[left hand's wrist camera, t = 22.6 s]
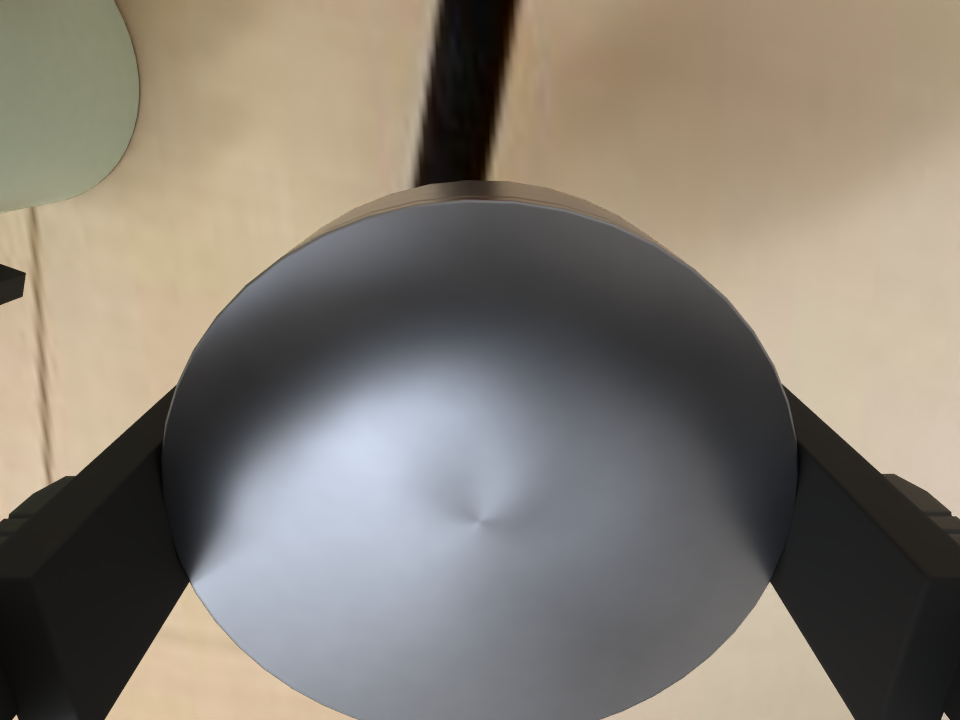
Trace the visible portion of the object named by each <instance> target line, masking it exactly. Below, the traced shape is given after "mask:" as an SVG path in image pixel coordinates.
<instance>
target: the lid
mask: <svg viewBox="0 0 960 720" xmlns="http://www.w3.org/2000/svg"><path fill="white" fill-rule="evenodd" d="M161 479H162V497H163V501H164V506H165V510H166V515H167V520H168V524H169V529H170V533H171V537H172V541H173V544H174V547H175V550H176V553H177V556H178V558H179V561H180V564H181V566H182V568H183V570H184V572H185V573H186V575H187V577H188V579H189V581H190V583H191V585H192V587H193V589H194V591H195V593H196V594H197V596H198V597H199V599H200V600H201V602H202V603H203V604H204V606H205V607H206V609H207V610H208V612H209V613H210V614H211V616H212V617H213V619H214V620H215V621H216V623H217V624H218V625H219V626H220V627H221V628H222V629H223V630H224V631H225V633H226V634H227V635H228V636H229V637H230V638H231V639H232V640H233V641H234V642H235V644H236V645H237V646H238V647H239V648H240V649H242V650H243V651H244V652H245V653H246V654H247V655H248V656H250V657H251V658H252V659H253V660H254V661H255V662H257V663H258V664H259V665H260V666H261V667H262V668H263V669H265V670H266V671H268V672H269V673H270V674H272V675H273V676H275V677H276V678H278V679H279V680H281V681H282V682H283V683H285V684H286V685H288V686H289V687H291V688H292V689H294V690H296V691H298V692H299V693H301V694H303V695H305V696H307V697H309V698H311V699H312V700H314V701H316V702H318V703H320V704H322V705H324V706H326V707H328V708H331V709H333V710H336V711H338V712H340V713H343V714H345V715H348V716H350V717H352V718H355V719H358V720H600V719H603V718H606V717H608V716H611V715H614V714H616V713H619V712H622V711H624V710H626V709H628V708H630V707H632V706H634V705H636V704H639V703H641V702H643V701H645V700H647V699H649V698H651V697H653V696H655V695H656V694H658V693H660V692H661V691H663V690H664V689H666V688H668V687H669V686H671V685H672V684H674V683H676V682H677V681H679V680H680V679H682V678H683V677H685V676H686V675H687V674H689V673H690V672H691V671H692V670H694V669H695V668H696V667H697V666H699V665H700V664H701V663H703V662H704V661H705V660H706V659H708V658H709V657H710V656H711V655H712V654H713V653H714V652H715V651H716V650H717V649H718V648H719V647H720V646H721V645H722V644H723V643H724V642H725V641H726V640H727V639H728V638H729V637H730V636H731V635H732V634H733V633H734V632H735V631H736V630H737V628H738V627H739V626H740V625H741V623H742V622H743V621H744V619H745V618H746V617H747V616H748V614H749V613H750V612H751V611H752V609H753V608H754V607H755V605H756V604H757V602H758V600H759V599H760V597H761V595H762V594H763V592H764V590H765V589H766V587H767V585H768V583H769V582H770V580H771V578H772V577H773V575H774V572H775V570H776V567H777V565H778V563H779V560H780V558H781V556H782V553H783V551H784V548H785V546H786V542H787V538H788V533H789V529H790V525H791V520H792V516H793V512H794V507H795V502H796V495H797V486H798V457H797V439H796V434H795V429H794V425H793V420H792V415H791V411H790V406H789V402H788V399H787V397H786V394H785V391H784V389H783V386H782V384H781V381H780V379H779V376H778V374H777V371H776V369H775V366H774V364H773V363H772V361H771V359H770V357H769V356H768V354H767V352H766V351H765V349H764V347H763V346H762V344H761V342H760V340H759V339H758V337H757V335H756V334H755V332H754V330H753V329H752V328H751V327H750V326H749V324H748V323H747V322H746V321H745V320H744V318H743V317H742V316H741V315H740V314H739V312H738V311H737V310H736V309H735V307H734V306H733V305H732V304H731V303H730V301H729V300H728V299H727V298H726V297H725V296H724V295H723V294H722V293H720V292H719V291H718V290H717V289H716V288H715V287H714V286H713V285H712V284H710V283H709V282H708V281H707V280H706V279H705V278H704V277H703V276H701V275H700V274H699V273H698V272H697V271H696V270H695V269H694V268H692V267H691V266H689V265H688V264H687V263H685V262H684V261H683V260H681V259H680V258H679V257H677V256H676V255H675V254H673V253H672V252H671V251H669V250H668V249H666V248H665V247H664V246H662V245H661V244H660V243H658V242H657V241H656V240H654V239H653V238H652V237H650V236H649V235H647V234H646V233H644V232H643V231H641V230H640V229H638V228H637V227H635V226H633V225H632V224H630V223H629V222H627V221H626V220H624V219H623V218H621V217H620V216H618V215H616V214H614V213H612V212H609V211H607V210H605V209H603V208H601V207H599V206H597V205H595V204H593V203H590V202H588V201H586V200H584V199H581V198H577V197H574V196H571V195H568V194H565V193H561V192H558V191H555V190H552V189H549V188H544V187H538V186H532V185H526V184H520V183H514V182H505V181H471V180H468V181H458V182H449V183H439V184H430V185H425V186H421V187H417V188H413V189H409V190H405V191H401V192H397V193H393V194H390V195H387V196H385V197H382V198H380V199H377V200H375V201H372V202H370V203H367V204H365V205H362V206H360V207H357V208H355V209H353V210H351V211H349V212H348V213H346V214H344V215H342V216H341V217H339V218H337V219H335V220H334V221H332V222H330V223H329V224H327V225H325V226H323V227H322V228H320V229H319V230H318V231H316V232H315V233H314V234H312V235H311V236H310V237H308V238H307V239H305V240H304V241H303V242H301V243H300V244H299V245H297V246H296V247H295V248H293V249H292V250H291V251H289V252H288V253H287V254H285V255H284V256H283V257H281V258H280V259H279V260H277V261H276V262H275V263H274V264H272V265H271V266H270V267H268V268H267V269H266V270H265V271H263V272H262V273H261V274H260V275H258V276H257V277H256V278H254V279H253V280H252V281H251V282H249V283H248V284H247V285H246V286H245V287H244V288H243V289H242V290H241V291H240V292H239V293H238V294H237V295H236V296H235V297H234V298H233V299H232V300H231V302H230V303H229V304H228V305H227V306H226V307H225V308H224V309H223V310H222V311H221V312H220V313H219V314H218V315H217V316H216V318H215V319H214V321H213V322H212V324H211V325H210V327H209V328H208V329H207V331H206V332H205V334H204V335H203V337H202V338H201V340H200V341H199V343H198V344H197V345H196V347H195V348H194V350H193V352H192V354H191V356H190V358H189V360H188V362H187V364H186V366H185V368H184V371H183V373H182V375H181V377H180V379H179V381H178V383H177V385H176V388H175V392H174V395H173V398H172V402H171V405H170V409H169V412H168V416H167V419H166V423H165V430H164V438H163V447H162V455H161Z"/></svg>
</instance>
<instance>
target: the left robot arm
mask: <svg viewBox="0 0 960 720" xmlns="http://www.w3.org/2000/svg"><path fill="white" fill-rule="evenodd" d="M782 386H783V389H784V391H785V394H786V397H787V399H788V402H789V406H790V411H791V415H792V420H793V425H794V429H795V434H796V439H797V457H798V486H797V495H796V502H795V507H794V512H793V516H792V520H791V525H790V529H789V533H788V538H787V542H786V546H785V548H784V551H783V553H782V556H781V558H780V560H779V563H778V565H777V567H776V570H775V572H774V575H773V577H772V578H771V580H770V582H771V584H772V585H773V587H774V589H775V590H776V592H777V594H778V595H779V597H780V598H781V600H782V602H783V603H784V605H785V607H786V608H787V610H788V611H789V613H790V615H791V616H792V618H793V620H794V621H795V623H796V624H797V626H798V628H799V629H800V631H801V633H802V634H803V636H804V637H805V639H806V641H807V642H808V644H809V646H810V647H811V649H812V650H813V652H814V654H815V655H816V657H817V659H818V660H819V662H820V663H821V665H822V667H823V668H824V670H825V672H826V673H827V675H828V676H829V678H830V680H831V681H832V683H833V685H834V686H835V688H836V689H837V691H838V693H839V694H840V696H841V698H842V699H843V701H844V702H845V704H846V706H847V707H848V709H849V711H850V712H851V714H852V715H853V717H854V719H855V720H941V718H942V715H943V713H945V714H946V715H947V716H948V718H949V719H950V720H960V519H959V518H958V517H956V516H952V515H951V512H950V511H949V510H948V509H947V508H946V507H945V506H943V505H942V504H941V503H940V502H939V501H938V500H936V499H935V498H934V497H933V496H932V495H931V494H929V493H928V492H927V491H925V490H923V489H921V488H919V487H918V486H916V485H914V484H912V483H910V482H908V481H906V480H904V479H903V478H901V477H899V476H897V475H895V474H881V473H880V472H879V471H877V470H876V469H875V468H874V467H873V466H872V465H871V464H870V463H869V462H868V461H866V460H865V459H864V458H863V457H862V456H861V455H860V454H859V453H858V452H857V451H855V450H854V449H853V448H852V447H851V446H850V445H849V444H848V443H847V442H845V441H844V440H843V439H842V438H841V437H840V436H839V435H838V434H837V433H836V432H834V431H833V430H832V429H831V428H830V427H829V426H828V425H827V424H826V423H825V422H823V421H822V420H821V419H820V418H819V417H818V416H817V415H816V414H815V413H813V412H812V411H811V410H810V409H809V408H808V407H807V406H806V405H805V404H804V403H802V402H801V401H800V400H799V399H798V398H797V397H796V396H795V395H794V394H792V393H791V392H790V391H789V390H788V389H787V388H786V387H785V386H784V385H783V384H782ZM175 388H176V386H175V387H174V388H173V389H171V390H170V391H169V392H168V393H167V394H166V395H165V396H164V397H163V398H162V399H160V400H159V401H158V402H157V403H156V404H155V405H154V406H153V407H152V408H151V409H149V410H148V411H147V412H146V413H145V414H144V415H143V416H142V417H141V418H139V419H138V420H137V421H136V422H135V423H134V424H133V425H132V426H131V427H130V428H128V429H127V430H126V431H125V432H124V433H123V434H122V435H121V436H120V437H119V438H117V439H116V440H115V441H114V442H113V443H112V444H111V445H110V446H109V447H107V448H106V449H105V450H104V451H103V452H102V453H101V454H100V455H99V456H98V457H96V458H95V459H94V460H93V461H92V462H91V463H90V464H89V465H88V466H86V467H85V468H84V469H83V470H82V471H81V472H80V473H79V474H78V475H77V476H65V477H63V478H62V479H60V480H58V481H56V482H54V483H52V484H50V485H49V486H47V487H45V488H43V489H41V490H39V491H37V492H36V493H34V494H32V495H31V496H30V497H29V498H28V499H26V500H25V501H24V502H23V503H22V504H21V505H19V506H18V507H17V508H16V509H15V510H14V511H12V512H11V513H10V514H9V518H8V519H3V520H2V521H1V522H0V720H12V719H13V718H14V717H15V716H16V714H17V717H18V719H19V720H105V718H106V716H107V715H108V713H109V712H110V710H111V708H112V707H113V705H114V703H115V702H116V700H117V699H118V697H119V695H120V694H121V692H122V690H123V689H124V687H125V686H126V684H127V682H128V681H129V679H130V677H131V676H132V674H133V673H134V671H135V669H136V668H137V666H138V664H139V663H140V661H141V660H142V658H143V656H144V655H145V653H146V651H147V650H148V648H149V647H150V645H151V643H152V642H153V640H154V638H155V637H156V635H157V634H158V632H159V630H160V629H161V627H162V625H163V624H164V622H165V621H166V619H167V617H168V616H169V614H170V612H171V611H172V609H173V608H174V606H175V604H176V603H177V601H178V599H179V598H180V596H181V595H182V593H183V591H184V590H185V588H186V586H187V585H188V583H189V582H190V581H189V579H188V577H187V575H186V573H185V572H184V570H183V568H182V566H181V564H180V561H179V558H178V556H177V553H176V550H175V547H174V544H173V541H172V537H171V533H170V529H169V524H168V520H167V515H166V510H165V506H164V501H163V497H162V479H161V455H162V447H163V438H164V430H165V423H166V419H167V416H168V412H169V409H170V405H171V402H172V398H173V395H174V392H175Z"/></svg>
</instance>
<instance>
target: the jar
mask: <svg viewBox="0 0 960 720" xmlns="http://www.w3.org/2000/svg"><path fill="white" fill-rule="evenodd" d="M138 104H139V77H138V70H137V63H136V57H135V53H134V49H133V46H132V42H131V38H130V36H129V33H128V30H127V28H126V25H125V22H124V20H123V17H122V15H121V14H120V12H119V10H118V8H117V6H116V4H115V2H114V0H0V213H3V212H8V211H13V210H19V209H24V208H29V207H34V206H39V205H44V204H49V203H54V202H58V201H63V200H67V199H70V198H72V197H75V196H77V195H80V194H82V193H84V192H86V191H87V190H89V189H90V188H92V187H94V186H95V185H97V184H98V183H99V182H100V181H101V180H103V179H104V178H105V177H106V176H107V175H108V174H109V173H110V172H111V171H112V169H113V168H114V167H115V166H116V165H117V164H118V162H119V160H120V159H121V157H122V155H123V154H124V152H125V150H126V149H127V146H128V144H129V141H130V139H131V137H132V134H133V131H134V127H135V123H136V119H137V113H138Z"/></svg>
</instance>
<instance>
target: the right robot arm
mask: <svg viewBox="0 0 960 720" xmlns="http://www.w3.org/2000/svg"><path fill="white" fill-rule="evenodd" d="M25 275H26V273H24V272H22V271H19V270H16V269H13V268H10V267H7V266H5V265H2V264H0V305H2V304H4V303H7V302H9V301H12V300H15V299H17V298H20V297H23V290H24V283H25Z"/></svg>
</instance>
